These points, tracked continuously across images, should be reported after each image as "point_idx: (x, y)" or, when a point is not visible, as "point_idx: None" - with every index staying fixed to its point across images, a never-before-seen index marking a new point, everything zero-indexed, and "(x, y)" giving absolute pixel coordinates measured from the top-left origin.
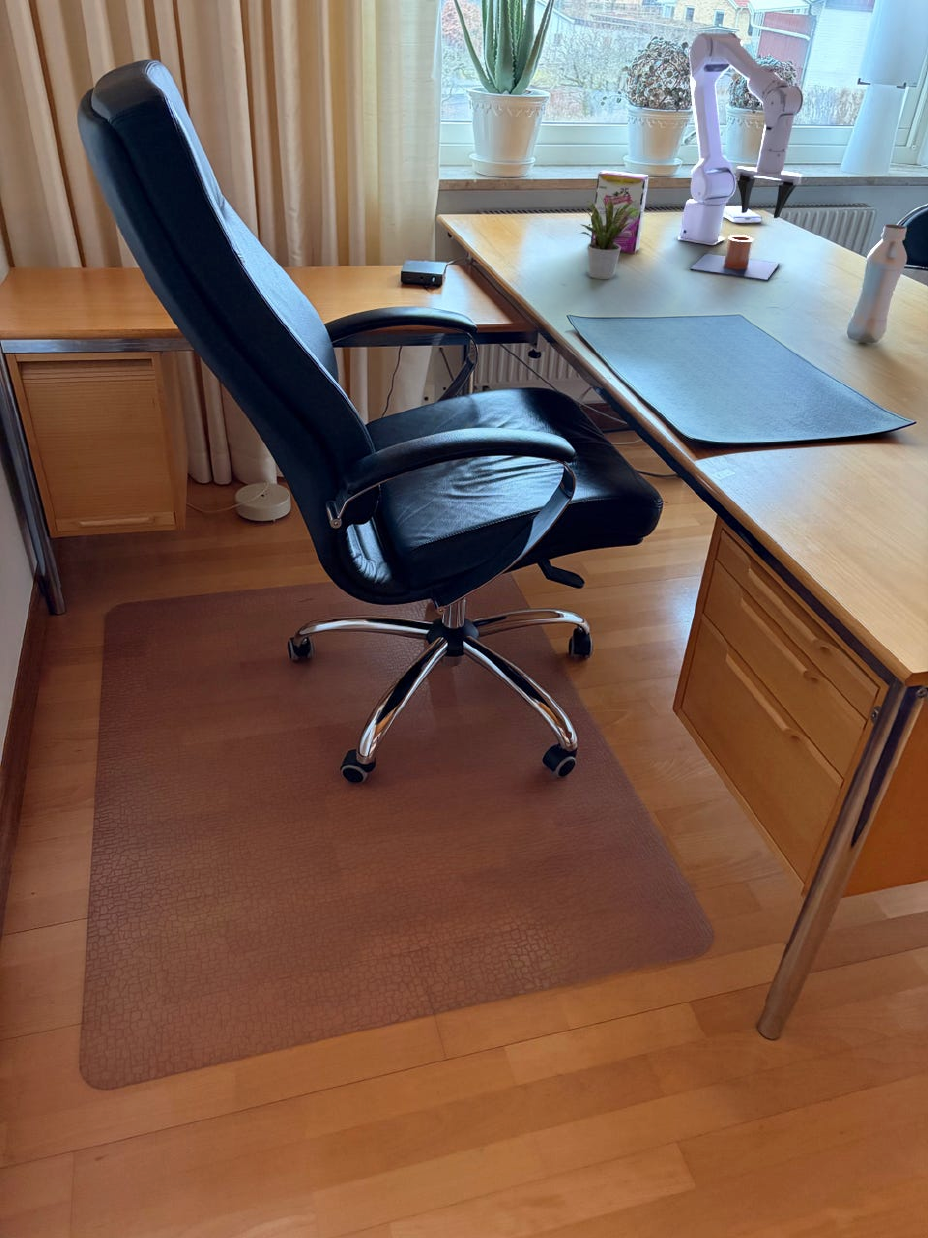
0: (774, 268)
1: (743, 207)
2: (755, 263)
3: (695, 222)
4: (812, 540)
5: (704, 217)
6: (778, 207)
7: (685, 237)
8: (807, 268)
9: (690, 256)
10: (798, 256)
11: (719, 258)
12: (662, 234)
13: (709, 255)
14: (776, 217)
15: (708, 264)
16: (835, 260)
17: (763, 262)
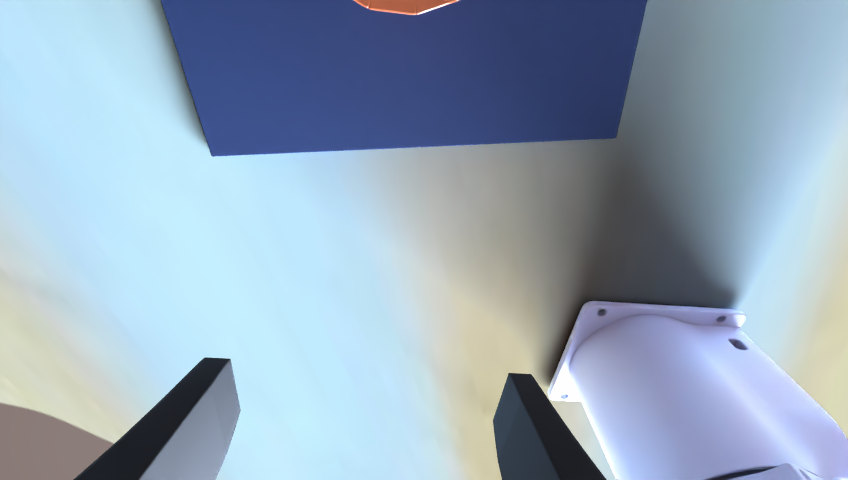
0: (173, 22)
1: (536, 404)
2: (316, 76)
3: (733, 378)
4: None
5: (716, 399)
6: (133, 436)
7: (715, 325)
8: (67, 170)
9: (706, 43)
10: (222, 334)
11: (534, 66)
12: (794, 348)
13: (596, 103)
14: (200, 361)
15: None
16: (79, 354)
17: (288, 128)
